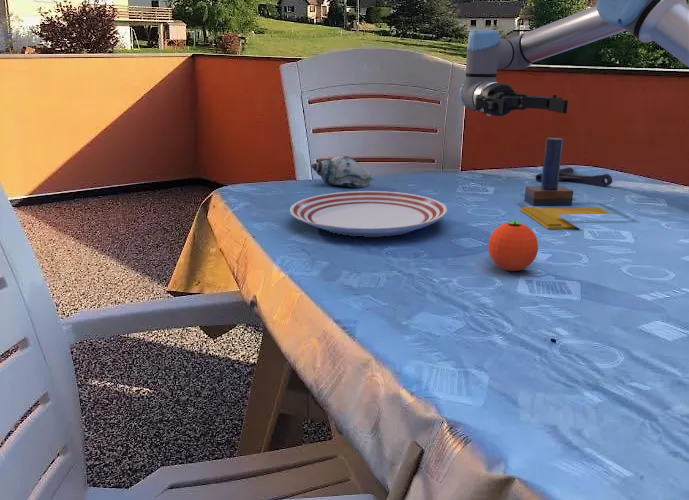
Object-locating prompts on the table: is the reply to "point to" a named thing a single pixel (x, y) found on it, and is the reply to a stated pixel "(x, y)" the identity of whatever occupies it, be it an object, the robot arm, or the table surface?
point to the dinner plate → (369, 212)
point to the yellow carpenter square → (553, 221)
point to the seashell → (342, 172)
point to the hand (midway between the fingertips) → (535, 107)
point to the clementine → (513, 246)
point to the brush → (550, 179)
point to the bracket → (581, 177)
